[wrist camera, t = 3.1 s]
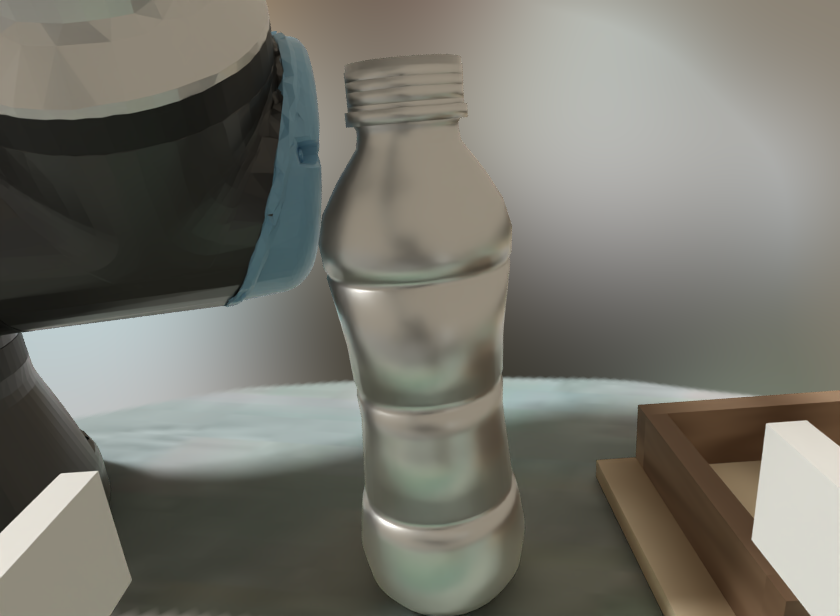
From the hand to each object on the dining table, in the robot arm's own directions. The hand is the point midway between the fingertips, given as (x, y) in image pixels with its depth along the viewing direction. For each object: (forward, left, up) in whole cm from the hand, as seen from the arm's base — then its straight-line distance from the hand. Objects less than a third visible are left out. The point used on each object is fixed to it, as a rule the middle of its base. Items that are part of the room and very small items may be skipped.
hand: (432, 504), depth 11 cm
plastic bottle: (0, +10, -11) cm, 15 cm away
